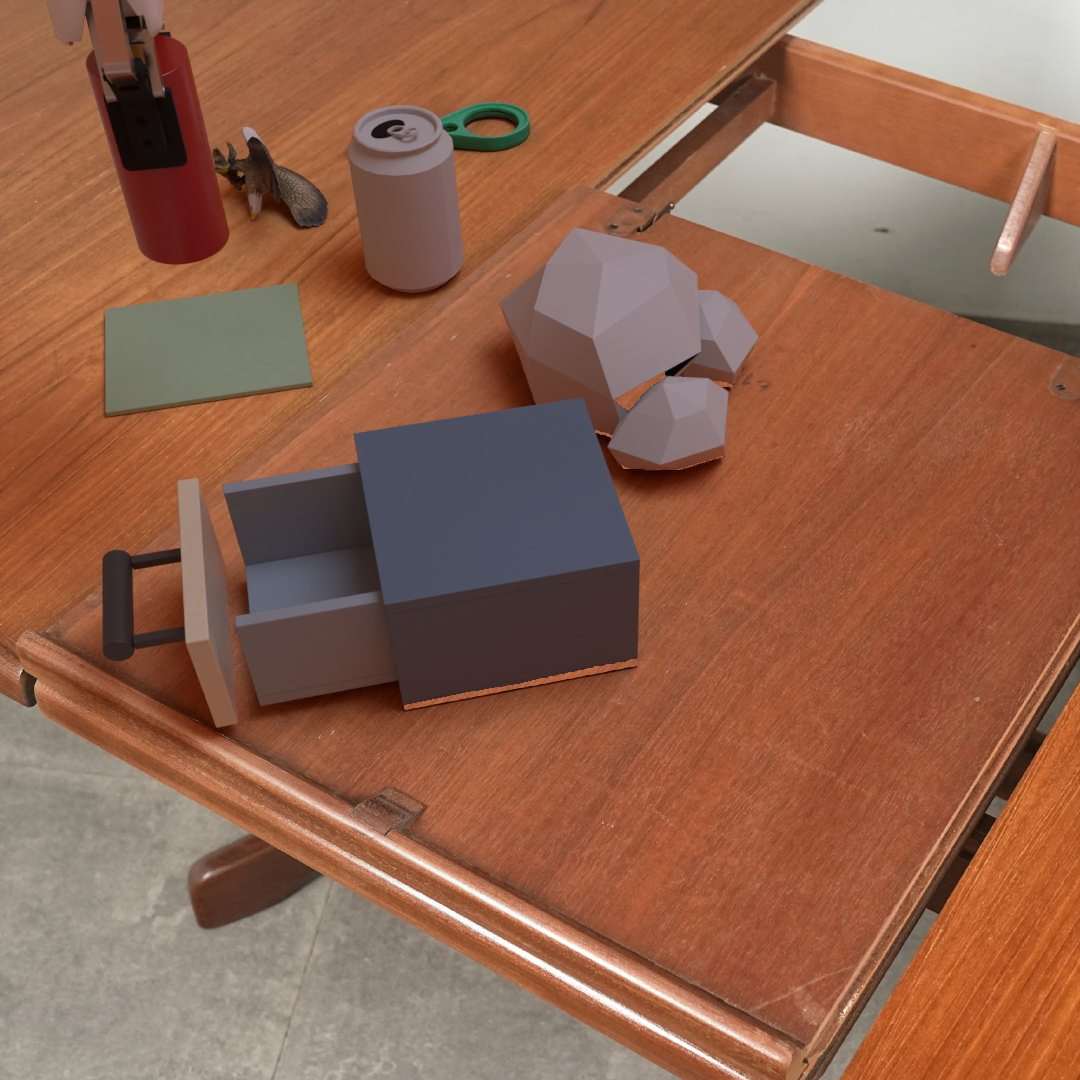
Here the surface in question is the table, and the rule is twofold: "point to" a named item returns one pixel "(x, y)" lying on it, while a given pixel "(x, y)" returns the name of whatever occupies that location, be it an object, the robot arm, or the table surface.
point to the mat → (204, 349)
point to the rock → (631, 346)
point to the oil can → (172, 172)
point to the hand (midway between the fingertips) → (155, 133)
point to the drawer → (269, 591)
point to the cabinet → (499, 549)
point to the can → (406, 198)
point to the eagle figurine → (271, 181)
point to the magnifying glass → (468, 140)
